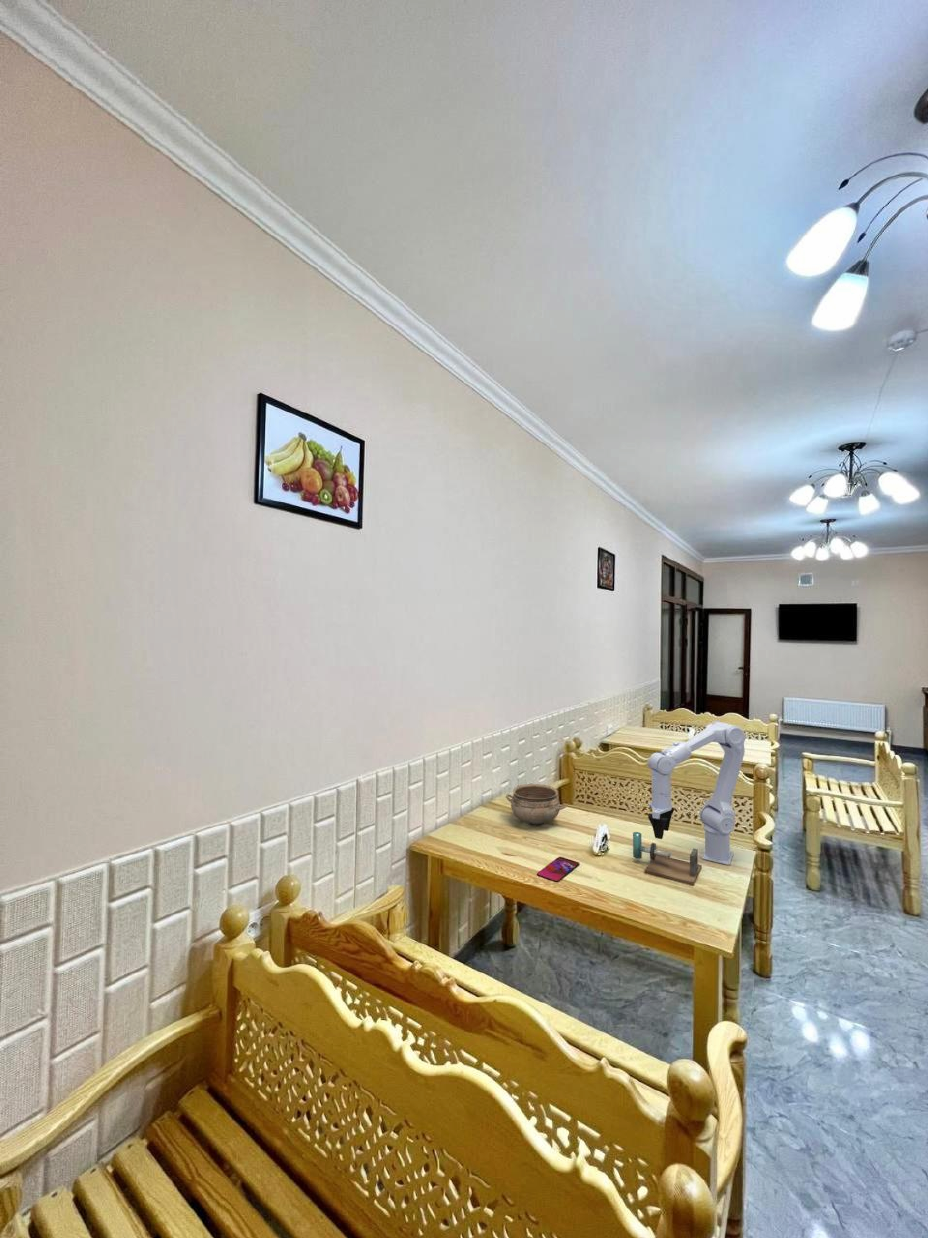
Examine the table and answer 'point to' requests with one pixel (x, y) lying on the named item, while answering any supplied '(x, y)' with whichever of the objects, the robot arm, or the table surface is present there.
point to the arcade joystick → (646, 848)
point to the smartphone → (558, 869)
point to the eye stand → (676, 868)
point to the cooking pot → (535, 803)
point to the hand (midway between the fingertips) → (661, 834)
